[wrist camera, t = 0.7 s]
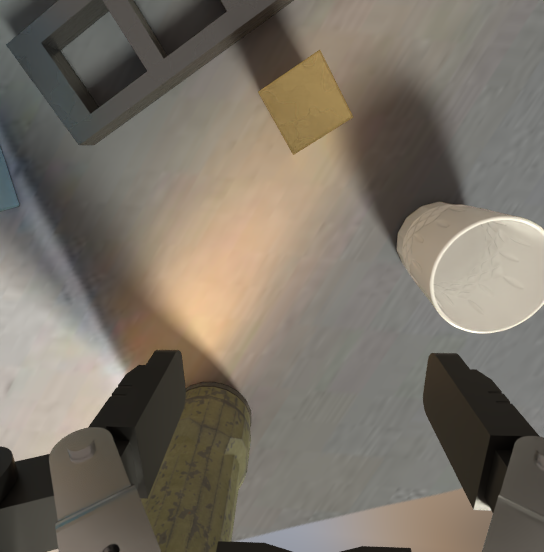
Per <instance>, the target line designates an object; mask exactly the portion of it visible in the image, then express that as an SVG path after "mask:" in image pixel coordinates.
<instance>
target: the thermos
mask: <svg viewBox="0 0 544 552" xmlns="http://www.w3.org/2000/svg"><path fill="white" fill-rule="evenodd" d="M250 426H251V410H250V408H249V405H248V403H247V401H246V400H245V399H244V398H243V397H242V395H241V394H240V393H239V392H237V391H236V390H234V389H232V388H231V387H229V386H227V385H223V384H219V383H216V382H202V383H198V384H195V385H191V386H189V387H188V388H186V399H185V406H184V409H183V412H182V414H181V417H180V419H179V422H178V424H177V427H176V429H175V432H174V434H173V437H172V439H171V442H170V444H169V447H168V449H167V452H166V454H165V457H164V459H163V462H162V464H161V467H160V469H159V472H158V474H157V477H156V479H155V481H154V484H153V486H152V489H151V491H150V494H149V496H148V499H145V498H140V499H141V501H142V504H143V507H144V509H145V512H146V514H147V517H148V519H149V522H150V524H151V527H152V529H153V532H154V534H155V537H156V539H157V542H158V545H159V547H160V550H161V552H216V549H217V544H218V541H225V542H231V539H232V532H233V525H234V517H235V510H236V503H237V496H238V490H239V488H240V486H241V485H242V483H243V481H244V478H245V475H246V472H247V466H248V458H249V450H250V442H251V435H250Z"/></svg>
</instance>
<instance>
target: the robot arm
mask: <svg viewBox="0 0 544 552" xmlns="http://www.w3.org/2000/svg"><path fill="white" fill-rule="evenodd" d="M185 399H186V389H185V380H184V371H183V362H182V355H181V352H180V351H179V350H156V351H155V352H154V353H153V355H152V357H151V358H150V360H149V361H148V363H147V364H146V365H138V366H137V367H136V368H134V369H133V370H131V371H130V372H129V373H127V374H126V375H125V377H124V378H123V379H122V381H121V382H120V384H119V385H118V388H116V389H115V391H114V392H113V393H112V397H110V398H109V399H108V400H107V402H106V403H105V405H104V406H103V407H102V409H101V410H100V412H99V413H98V414H97V416H96V417H95V419H94V420H93V421H92V423H91V424H90V426H89V427H88V428H84V429H81V430H78V431H75V432H73V433H71V434H69V435H67V436H66V437H64V438H63V439H62V440H60V441H59V442H58V443H57V444H56V445H55V446H54V448H53V449H52V451H51V453H50V454H47V455H43V456H39V457H34V458H30V459H25V460H21V461H16V462H15V461H14V458H13V455H12V452H11V451H10V450H9V449H8V448H5V447H0V552H47V551H51V550H54V549H59V552H161V550H160V547H159V545H158V542H157V539H156V537H155V534H154V532H153V529H152V527H151V524H150V522H149V519H148V517H147V514H146V512H145V509H144V507H143V504H142V501H141V499H140V498H145V499H148V496H149V494H150V491H151V489H152V486H153V484H154V481H155V479H156V477H157V474H158V472H159V469H160V467H161V464H162V462H163V459H164V457H165V454H166V452H167V449H168V447H169V444H170V442H171V439H172V437H173V434H174V432H175V429H176V427H177V424H178V422H179V419H180V417H181V414H182V412H183V409H184V406H185ZM423 404H424V409H425V413H426V415H427V417H428V419H429V421H430V423H431V425H432V427H433V429H434V431H435V433H436V435H437V437H438V439H439V441H440V443H441V445H442V447H443V449H444V451H445V453H446V455H447V457H448V459H449V461H450V463H451V465H452V467H453V469H454V471H455V473H456V475H457V477H458V479H459V481H460V483H461V485H462V487H463V489H464V491H465V493H466V495H467V497H468V499H469V501H470V503H471V505H472V507H473V509H474V510H492V512H493V516H492V520H491V523H490V526H489V530H488V533H487V537H486V540H485V543H484V547H483V550H482V552H544V438H543V437H540V436H539V435H538V434H537V433H536V432H535V430H534V429H533V428H532V427H531V426H530V425H529V423H528V422H527V421H526V420H525V419H524V417H523V416H522V415H521V414H520V413H519V412H518V410H517V409H516V408H515V407H514V406H513V404H510V401H509V400H508V399H507V397H506V396H505V395H504V394H502V393H501V390H500V389H499V388H498V387H497V386H496V384H495V383H494V382H493V381H492V380H491V379H490V378H488V377H487V376H485V375H483V374H482V373H480V372H479V371H477V370H470V369H469V367H468V366H467V365H466V364H465V362H464V361H463V360H462V359H461V357H460V356H459V355H458V354H456V353H431V354H430V356H429V358H428V364H427V371H426V378H425V385H424V392H423ZM216 552H292V551H289V550H285V549H282V548H279V547H276V546H273V545H269V544H266V543H253V542H252V543H251V542H250V543H249V542H225V541H218V544H217V549H216ZM341 552H411V548H394V547H366V546H364V547H363V546H362V547H358V548H354V549H350V550H346V551H341Z"/></svg>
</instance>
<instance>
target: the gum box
mask: <svg viewBox="0 0 544 552" xmlns="http://www.w3.org/2000/svg"><path fill="white" fill-rule="evenodd" d="M18 206H19V202H18V200H17V196H16V193H15V190H14V187H13V184H12V181H11V178H10V174H9V171H8V168H7V165H6V162H5V159H4V156H3V153H2V150H1V147H0V211H3V210H7V209H11V208H15V207H18Z"/></svg>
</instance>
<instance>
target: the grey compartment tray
mask: <svg viewBox="0 0 544 552" xmlns="http://www.w3.org/2000/svg"><path fill="white" fill-rule="evenodd" d="M220 1H221V3H222V5H223V7H224V8H225V10H226V13H224V14H223V15H222V16H220V17H219V18H218V19H216V20H215V21H214V22H212V23H211V24H210V25H208V26H207V27H206V28H204V29H203V30H202V31H200V32H199V33H198V34H196V35H195V36H194V37H192V38H191V39H190V40H188V41H187V42H186V43H184V44H183V45H182V46H180V47H179V48H178V49H176V50H175V51H174V52H172V53H171V54H170V55H168V56H167V54H166V53H165V51H164V49H163V48H162V46H161V44H160V43H159V41H158V40H157V38H156V36H155V35H154V33H153V31H152V30H151V28H150V27H149V25H148V23H147V22H146V20H145V18H144V17H143V15H142V13H141V12H140V10H139V9H138V7H137V5H136V4H135V2H134V0H58V1H57V2H56V3H55V4H53V5H52V6H51V7H50V8H49V9H48V10H46V11H45V12H44V13H43V14H42V15H41V16H39V17H38V18H37V19H36V20H35V21H33V22H32V23H31V24H30V25H29V26H28V27H26V28H25V29H24V30H23V31H22V32H21V33H19V34H18V35H17V36H16V37H15V38H14V39H12V40H11V41H10V42H9V43H8V44H6V45H7V47H8V48H9V49H10V51H11V52H12V54H13V55H14V56H15V58H16V59H17V60H18V62H19V63H20V65H21V66H22V67H23V69H24V70H25V71H26V73H27V74H28V76H29V77H30V78H31V80H32V81H33V82H34V84H35V85H36V87H37V88H38V89H39V91H40V92H41V93H42V95H43V96H44V98H45V99H46V100H47V102H48V103H49V105H50V106H51V107H52V109H53V110H54V111H55V113H56V114H57V116H58V117H59V118H60V120H61V121H62V122H63V124H64V125H65V127H66V128H67V129H68V131H69V132H70V133H71V135H72V136H73V138H74V139H75V140H76V142H77V143H78V145H95V144H96V143H98V142H99V141H100V140H102V139H103V138H105V137H106V136H107V135H109V134H110V133H111V132H113V131H114V130H116V129H117V128H118V127H120V126H121V125H122V124H124V123H125V122H127V121H128V120H129V119H131V118H132V117H134V116H135V115H136V114H138V113H139V112H140V111H142V110H143V109H145V108H146V107H147V106H149V105H150V104H151V103H153V102H154V101H156V100H157V99H158V98H160V97H161V96H162V95H164V94H165V93H167V92H168V91H169V90H171V89H172V88H173V87H175V86H176V85H178V84H179V83H180V82H182V81H183V80H184V79H186V78H187V77H189V76H190V75H191V74H193V73H194V72H196V71H197V70H198V69H200V68H201V67H202V66H204V65H205V64H207V63H208V62H209V61H211V60H212V59H213V58H215V57H216V56H218V55H219V54H220V53H222V52H223V51H224V50H226V49H227V48H229V47H230V46H231V45H233V44H234V43H235V42H237V41H238V40H240V39H241V38H242V37H244V36H245V35H246V34H248V33H249V32H251V31H252V30H253V29H255V28H256V27H258V26H259V25H260V24H262V23H263V22H264V21H266V20H267V19H269V18H270V17H271V16H273V15H274V14H275V13H277V12H278V11H280V10H281V9H282V8H284V7H285V6H286V5H288V4H289V3H291V2H292V1H293V0H220ZM108 11H110V13H111V14H112V16H113V18H114V19H115V21H116V22H117V24H118V25H119V27H120V29H121V30H122V32H123V33H124V35H125V37H126V38H127V40H128V41H129V43H130V44H131V46H132V48H133V49H134V51H135V52H136V54H137V55H138V57H139V59H140V60H141V62H142V63H143V65H144V66H145V68H146V70H147V72H146V73H144V74H143V75H142V76H140V77H139V78H138V79H136V80H135V81H134V82H132V83H131V84H130V85H128V86H127V87H126V88H124V89H123V90H122V91H120V92H119V93H118V94H116V95H115V96H114V97H112V98H111V99H110V100H108V101H107V102H106V103H104V104H103V105H102V106H100V107H98V105H97V104H96V103H95V101H94V100H93V98H92V97H91V95H90V94H89V92H88V91H87V89H86V88H85V87H84V85H83V84H82V82H81V81H80V79H79V78H78V76H77V75H76V73H75V72H74V71H73V69H72V68H71V66H70V65H69V63H68V62H67V60H66V59H65V57H64V56H63V55H62V53H61V52H60V50H62V49H63V48H64V47H65V46H66V45H68V44H69V43H70V42H71V41H73V40H74V39H75V38H76V37H77V36H79V35H80V34H81V33H82V32H84V31H85V30H86V29H87V28H89V27H90V26H91V25H92V24H93V23H95V22H96V21H97V20H98V19H100V18H101V17H102V16H103V15H105V14H106V13H107V12H108Z"/></svg>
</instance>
